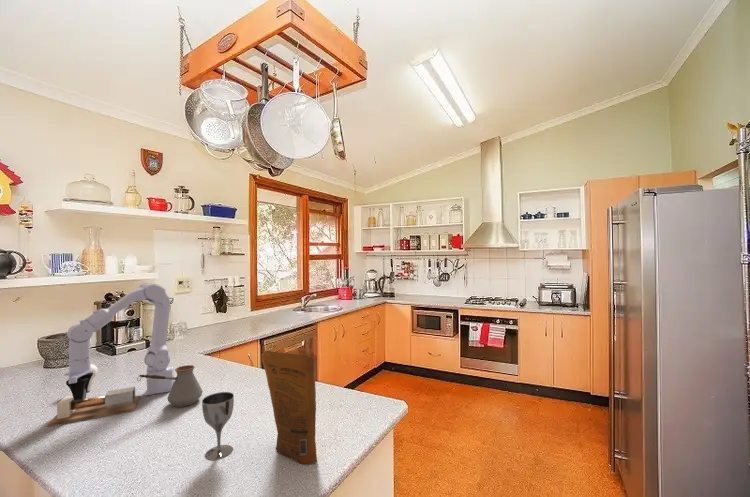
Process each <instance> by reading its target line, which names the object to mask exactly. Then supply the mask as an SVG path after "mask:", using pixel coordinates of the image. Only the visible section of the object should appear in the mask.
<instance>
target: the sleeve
mask: <svg viewBox="0 0 750 497" xmlns="http://www.w3.org/2000/svg"><path fill="white" fill-rule="evenodd" d="M104 396H105V409H110V408H115V407H121V406H126V405H132V404H133V403H134V401H135V396H136V386H129V387H124V388H119V389H113V390H111V389H110V390H108V391H107V393H106V394H105V395H104Z"/></svg>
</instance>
